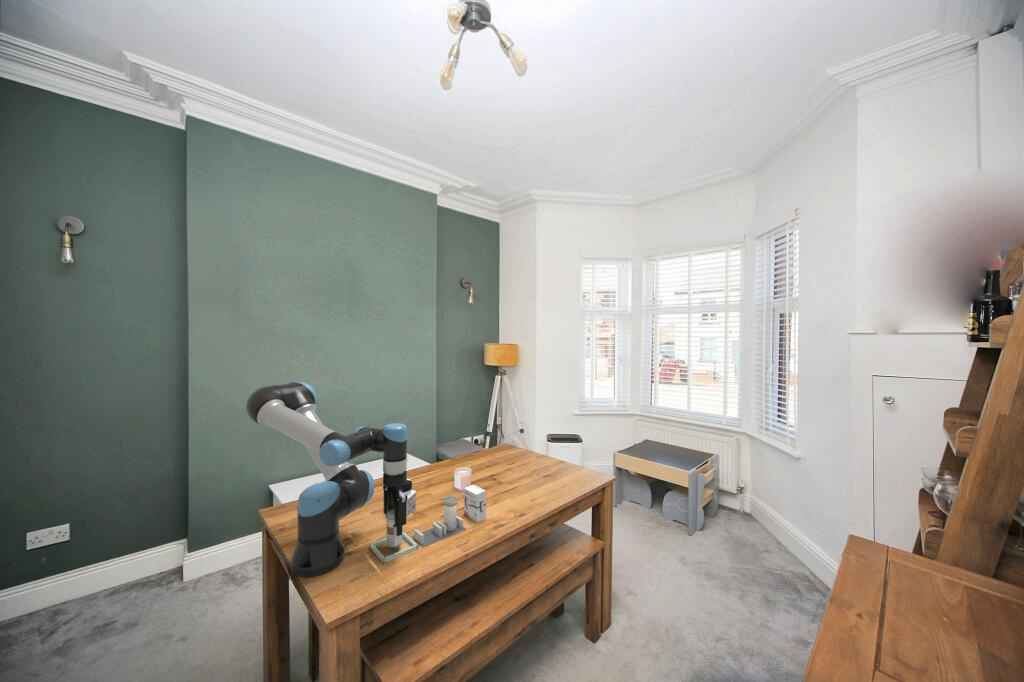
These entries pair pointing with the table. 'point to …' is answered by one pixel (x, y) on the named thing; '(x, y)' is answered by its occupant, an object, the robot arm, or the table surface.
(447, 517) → the cylinder
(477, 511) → the ink box
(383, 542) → the parts tray
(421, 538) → the fuse block
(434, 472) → the table surface
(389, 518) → the cylinder
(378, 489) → the table surface
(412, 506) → the container
